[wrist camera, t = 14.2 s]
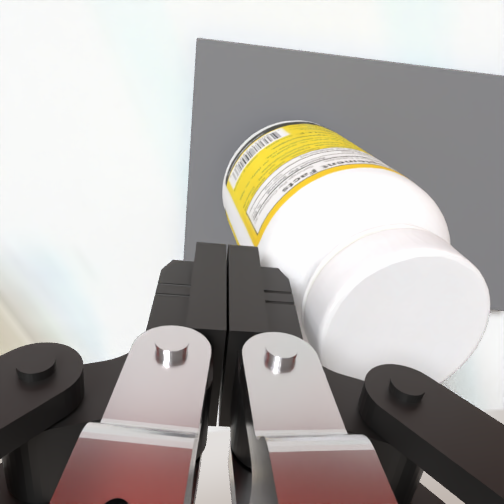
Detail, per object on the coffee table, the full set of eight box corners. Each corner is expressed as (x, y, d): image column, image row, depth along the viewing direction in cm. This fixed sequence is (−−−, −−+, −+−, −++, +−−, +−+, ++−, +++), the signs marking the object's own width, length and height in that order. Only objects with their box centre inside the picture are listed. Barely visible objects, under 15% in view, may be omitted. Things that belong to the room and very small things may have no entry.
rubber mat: (183, 278, 22) (182, 285, 21) (197, 37, 17) (196, 38, 17) (497, 303, 23) (504, 310, 22) (586, 86, 19) (597, 88, 18)
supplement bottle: (341, 248, 21) (477, 420, 12) (216, 247, 19) (267, 436, 11) (367, 120, 18) (559, 222, 10) (226, 111, 17) (302, 216, 9)
